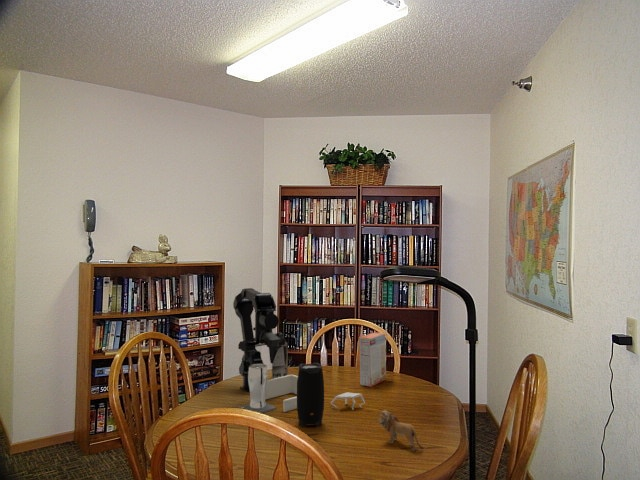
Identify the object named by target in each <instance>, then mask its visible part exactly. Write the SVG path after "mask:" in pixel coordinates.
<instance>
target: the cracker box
mask: <svg viewBox="0 0 640 480" xmlns="http://www.w3.org/2000/svg"><path fill="white" fill-rule="evenodd" d="M358 338H359V339H358V340H359V344H358V345H359V347H358V349H359V386H363V387H369V388H372V387H374V386H376V385H378V384H379V383H382V382H384V381H386V380H387V374H386V373H387V362H386V361H387V360H386V359H387V352H386V347H387V345H386V333H384V332H377V331H376V332H371V333H368V334H365V335H362V336H359V337H358Z"/></svg>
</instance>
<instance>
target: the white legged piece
mask: <svg viewBox="0 0 640 480" xmlns="http://www.w3.org/2000/svg"><path fill="white" fill-rule="evenodd" d="M358 397H360V399H361V400H362V403H361V404H359V407H360V409H361V408H363V407H362V406H363V405H364V404H366V401H365V399H364V396H363V394H362V393H359V392H358V393H356V392H355V393H354V392H348V391H347V392H343V393H341V394H338V395H335V396H334V398H333V400H331V401H330V404H331V405H332V406H334V409H335V410H336V409H338V406H337V405H335V403H334V402H335V401H336V400H338V399H344V400H345V401H344V402H345V405H346V406H347V405H348V399H352V405H351V410H352V411H354V410H355V408H354V407H355V404H356V400H355V398H358Z"/></svg>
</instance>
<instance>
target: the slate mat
mask: <svg viewBox="0 0 640 480" xmlns="http://www.w3.org/2000/svg"><path fill="white" fill-rule="evenodd" d="M249 405H250V403H247V404H244V405H239V406H237V409H238V408H241V407H244V408H243V409H248V410H252V411H257V412H261V413H260V414H264V413H266V412H270V411H273V410H277V407H276V406H274V405H270V404H268V403H266V407H265V408H263V409H258V410H255V409H251V408H249Z"/></svg>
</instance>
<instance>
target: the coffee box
mask: <svg viewBox="0 0 640 480" xmlns="http://www.w3.org/2000/svg"><path fill="white" fill-rule="evenodd" d="M288 348H289V344H288V342H287V341H285V345H282V347H281V348H280V349H279V350H278V351H277V353H276V356H275V359H274V362H273V364H272V363H271V364H272V365H271V379H274V378H278V377H283V376H287V375H289V374H288V373H289V372H288V362H289V358H288V355H289V353H288V350H289V349H288Z"/></svg>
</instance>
